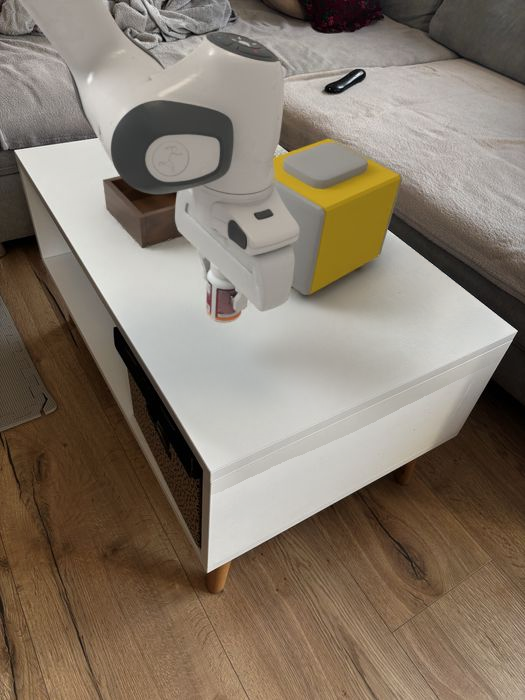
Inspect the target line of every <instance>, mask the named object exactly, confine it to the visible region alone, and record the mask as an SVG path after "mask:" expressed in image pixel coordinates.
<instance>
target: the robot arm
mask: <svg viewBox="0 0 525 700" xmlns="http://www.w3.org/2000/svg"><path fill="white" fill-rule="evenodd" d="M18 2H19V3H20V5H21V6H22V7H23V8H24V10H25V11H26V12H27V14H28V15H29V16H30V18H31V19H32V20H33V22H34V23H35V25H36V26H37V27H38V28H39V30H40V31H41V32H42V33H43V35H44V37H45V38H46V39H47V41H48V42H49V43H50V44H51V45H52V47H53V48H54V50H55V51H56V53H57V54H58V55H59V57H60V58H61V60H62V61H63V63H64V64H65V66H66V68H67V70H68V72H69V75H70V77H71V82H72V87H73V90H74V91H73V92H74V94H75V98H76V102H77V105H78V108H79V110H80V113H81V114H82V116H83V118H84V120H85V121H86V123H88V125H89V126H90V127H91V129H92V130H93V132H94V133H95V136H96V137H97V139H98V141H99V142H100V144H101V146H102V148H103V150H104V152H105V154H106V155H107V157H108V158H109V160H110V162H111V164H112V165H113V167H114V169H115V171H116V172H117V174H118V176H121V178H122V179H123V180H124V181H125V182H126V183H128V184H129V185H130V186H132V187H133V188H135V189H137V190H139V191H142V192H145V193H149V194H168V193H173V192H177V197H176V207H175V223H176V226H177V229H178V231H179V232H180V233H181V234H182V235H183V237H184V238H185V239H186V240H187V241H188V242H189V243H190V244H191V245H192V246H193V247H194V248H195V249H196V250H197V251H198V256H199V259H200V262H201V265H202V269H203V280H204V281H206V282H207V274H208V272H209V270H210V269H211V268H210V266H211V262H212V263H213V264H214V265H215V266H216V267H217V268H218V269H219V271H220V272H221V273H222V274H223V275H224V276H225V277H226V278H227V279H228V280H229V281H230V282H231V283H232V284H233V285H234V286H235V290H236V292H238V293H237V294H233V295H230V302H229V304H230V306H231V307H232V308H233V309H234V310H235V311H236V312H239V311H241V310H242V311H244V310H246V309H247V307H248V302H250V303H251V304H252V306H254V307H255V308H256V309H257V310H258V311H259V312H267V311H270V310H274V309H275V308H279V307H281V306H282V305H284V304H285V303H286V302H287V301H288V300H289V298H290V295H291V290H292V280H293V273H294V264H295V258H294V251H293V248H292V246H291V243H293V242H295V241H297V240H298V237H299V232H300V229H299V226H298V224H297V222H296V221H295V219H294V218H293V217H292V215H291V214H290V212H289V211H288V209H287V208H286V206H285V205H284V203H283V201H282V200H281V198H280V196H279V194H278V191H277V190H276V189H275V187H273V185H274V178H275V172H274V166H273V157H275V153H276V150H277V148H278V146H279V143H280V139H281V130H282V123H283V113H284V97H285V96H284V93H285V82H284V69H283V65H282V61H280V59H279V58H278V56H277V55H276V54H275V53H274V52H273V51H272V50H271V49H269V48H268V47H267V46H265V45H264V44H262V43H261V42H259V41H257V40H254V39H252V38H250V37H248V36H244V35H241V34H237V33H234V32H228V31H216V32H209V33H206V35H205V36H204V37H203V38H202V40H201V42H200V43H199V44H198V45H197V46H196V47H195V48H194V49H193V50H192V51H190V52H189V53H187V55H186V56H184V57H183V58H181V59H180V60H178V61H177V62H175V63H174V64H172V65H171V66H168V67H167V68H165V67H164V65H163V64H162V62H161V61H160V60H159V59H158V57H157V56H156V55H155V54H154V53H152V52H151V50H149V49H148V48H147V47H145V46H144V45H142V44H141V43H139V42H138V41H137V40H135V39H134V38H133V37H131V36H129V35H128V34H127V33H126V32H124V31H123V29H122V28H121V27H120V26H119V25H118V23H117V22H116V20H115V19H114V17H113V16H112V14H111V11H110V10H109V9H108V7H107V5H106V4H105V2H104V0H18ZM242 311H241V312H242Z"/></svg>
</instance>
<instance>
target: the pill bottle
mask: <svg viewBox="0 0 525 700" xmlns="http://www.w3.org/2000/svg"><path fill="white" fill-rule="evenodd" d="M210 268H211V269H210V270H209V272H208V274H207V281H206V297H205V298H206V300H205V302H206V303H205V312H206V315H207V316H208V318H209V319H211V320H212V321H214V322H217V323H220V324H228V323H232V322H235V321H237V320H238V319H239V318H240V317H241V315H242V311H243V310H241V311H239V312H236V311H235V310H234V309H233V308H232V307H231V306H230V304H229V302H230V295H233V294H237V293H238V292H236V290H235V286H234V285H233V284H232V283H231V282H230V281H229V280H228V279H227V278H226V277H225V276H224V275H223V274H222V273H221V272H220V271H219V269H218V268H217V267H216V266H215V265H214V264H213V263H212V262H211V266H210Z"/></svg>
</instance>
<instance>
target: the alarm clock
mask: <svg viewBox="0 0 525 700" xmlns="http://www.w3.org/2000/svg"><path fill="white" fill-rule="evenodd" d="M273 166H274V172H275V178H274V185H273V187H275V189H276V190H277V191H278V194H279V196H280V198H281V200H282V201H283V203H284V205H285V206H286V208H287V209H288V211H289V212H290V214H291V215H292V217H293V218H294V219H295V221H296V222H297V224H298V226H299V229H300V232H299V237H298V240H297V241H295V242H293V243H291V246H292V248H293V251H294V258H295V264H294V273H293V280H292V286H291V288H293V289H295V290H296V291H297V292H299V293H300V294H302V295H305V296H307V295H309V296H310V295H312V294H314V293H316V292H317V291H319V290H320V289H323V288H324V287H326V286H328V285H329V284H331V283H334V282H335V281H337V280H339V279H340V278H342V277H344V276H347V275H348V274H350V273H352V272H353V271H355V270H356V269H358V268H360V267H362V266H364V265H366V264H368V263H369V262H371V261H373V260H374V259H377V258H378V257H379V256H380V255H381V253H382V250H383V246H384V244H385V239H386V237H387V233H388V230H389V226H390V222H391V219H392V215H393V213H394V209H395V206H396V203H397V199H398V196H399V192H400V190H401V189H400V188H401V186H402V183H403V177H402V174H401V173H400V172H399V171H397V170H394V169H392V168H391V167H389V166H386V165H385V164H382V163H381V162H380V161H377V160H375V159H373V158H371V157H369V156H367V155H365V154H363V153H361V151H358V150H356V149H354V148H352V147H351V146H348V145H346V144H345V143H342V142H340V141H338V140H336V139H334V138H329V137H328V138H326V139H322V140H320V141H316V142H314V143H311V144H308V145H306V146H303V147H300V148H297V149H293V150H291V151H289V152H286V153H283V154H279V155H277V156H274V157H273Z"/></svg>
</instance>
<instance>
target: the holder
mask: <svg viewBox="0 0 525 700" xmlns="http://www.w3.org/2000/svg"><path fill="white" fill-rule="evenodd" d="M102 185H103V192H104V202H105V208H106V210H107V211H108V212H109V214H110V215H111V216H112V217H113V218H114V219H115V220H116V221H117V222H118V223H119V224H120V225H121V227H122V228H123V229H124V231H126V232H127V233H128V235H130V236H131V238H132V239H133V240H134V241H135V243H136V244H138V245H139V246H140V247H141V248H142V249H144V248H147V247H150V246H153V245H156V244H160V243H162V242H167V241H170V240H173V239H176V238H179V237H182V236H183V235H182V234H181V233H180V232H179V231H178V229H177V226H176V223H175V207H176V197H177V192H173V193H168V194H149V193H145V192H142V191H139V190H137V189H135V188H133V187H132V186H130V185H129V184H128V183H126V182H125V181H124V180H123V179H122V178H121V176H120V175H117V176H113V177H109V178H105V179H102ZM183 237H184V236H183Z"/></svg>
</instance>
